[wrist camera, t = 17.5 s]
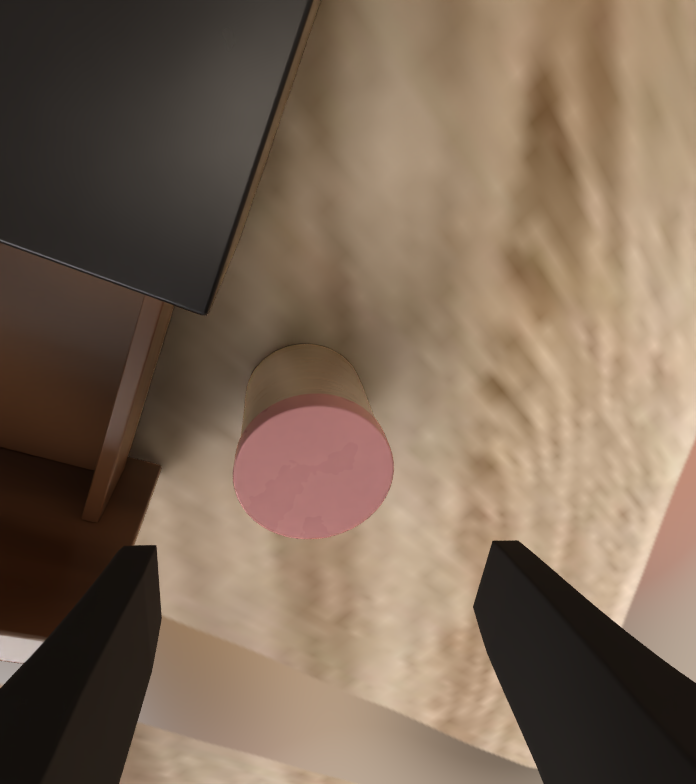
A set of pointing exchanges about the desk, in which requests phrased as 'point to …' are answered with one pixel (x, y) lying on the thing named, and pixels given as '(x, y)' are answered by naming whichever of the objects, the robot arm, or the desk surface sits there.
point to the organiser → (141, 132)
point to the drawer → (67, 436)
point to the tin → (310, 446)
